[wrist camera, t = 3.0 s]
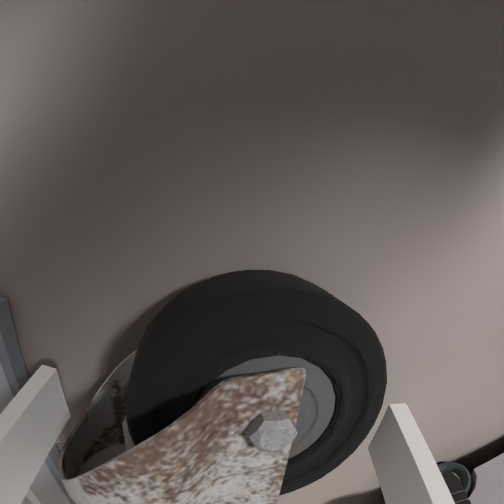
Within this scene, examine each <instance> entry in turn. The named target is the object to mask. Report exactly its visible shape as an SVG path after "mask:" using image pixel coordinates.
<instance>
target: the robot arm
mask: <svg viewBox="0 0 504 504" xmlns="http://www.w3.org/2000/svg"><path fill="white" fill-rule="evenodd" d="M70 417H71V415H70V412H69V409H68V406H67V403H66V399H65V396H64V393H63V390H62V386H61V383H60V379H59V376H58V372H57V369H55V368H52V367H49V366H46V365H41V366H40V368H39V369H38V370H37V371H36V372H35V373H34V374H33V376H32V377H31V378H30V379H29V380H28V381H27V383H26V384H25V385H24V386H23V387H22V389H21V390H20V391H19V392H18V393H17V395H16V396H15V397H14V398H13V399H12V401H11V402H10V403H9V404H8V406H7V407H6V408H5V409H4V411H3V412H2V413H1V414H0V504H21V503H22V501H23V499H24V497H25V495H26V493H27V492H28V490H29V488H30V486H31V484H32V482H33V481H34V479H35V477H36V475H37V473H38V472H39V470H40V468H41V466H42V464H43V463H44V461H45V459H46V457H47V456H48V454H49V452H50V450H51V449H52V447H53V445H54V444H55V442H56V440H57V438H58V437H59V435H60V433H61V432H62V430H63V428H64V427H65V425H66V423H67V422H68V420H69V418H70ZM368 450H369V453H370V456H371V459H372V462H373V465H374V468H375V471H376V474H377V477H378V481H379V484H380V487H381V490H382V493H383V496H384V500H385V503H386V504H471V502H470V500H468V496H467V494H466V492H464V488H463V486H462V484H461V482H460V480H459V478H458V477H457V476H456V475H454V474H453V473H452V472H451V471H446V472H443V473H441V472H440V470H439V468H438V466H437V464H436V462H435V460H434V458H433V456H432V454H431V452H430V450H429V448H428V446H427V444H426V442H425V440H424V438H423V436H422V434H421V432H420V430H419V428H418V426H417V424H416V422H415V420H414V418H413V416H412V414H411V412H410V411H409V409H408V407H407V405H406V403H401V404H389V406H388V408H387V410H386V413H385V415H384V417H383V419H382V421H381V423H380V425H379V427H378V429H377V431H376V433H375V435H374V437H373V439H372V441H371V443H370V445H369V447H368Z"/></svg>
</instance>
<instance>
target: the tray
mask: <svg viewBox="0 0 504 504" xmlns="http://www.w3.org/2000/svg"><path fill="white" fill-rule="evenodd" d="M28 380H29V377H28V374H27V371H26V368H25V364H24V361H23V358H22V354H21V351H20V347H19V344H18V340H17V336H16V332H15V328H14V324H13V320H12V316H11V311H10V307H9V302H8V298H6V297H2V296H0V414H1V413H2V412H3V411H4V409H5V408H6V407H7V406H8V404H9V403H10V402H11V401H12V399H13V398H14V397H15V396H16V395H17V393H18V392H19V391H20V390H21V389H22V387H23V386H24V385H25V384H26V383H27V381H28ZM59 460H60V453H59V451H58V449H57V446H56V444H54V445H53V447H52V449H51V450H50V452H49V454H48V456H47V457H46V459H45V461H44V463H43V464H42V466H41V468H40V470H39V472H38V473H37V475H36V477H35V479H34V481H33V482H32V484H31V486H30V488H29V490H28V492H27V493H26V495H25V497H24V499H23V501H22V503H21V504H70V498H69V495H68V493H67V491H66V489H65V486H64V484H63V482H62V479H61V477H60V473H59Z"/></svg>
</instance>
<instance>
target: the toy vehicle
mask: <svg viewBox="0 0 504 504" xmlns="http://www.w3.org/2000/svg"><path fill="white" fill-rule="evenodd" d="M437 466H438V468H439V470H440V472H441V473H443V472H446V471H451V472H452V473H453V474H454V475H456V476H457V477H458V478H459V480H460V482H461V484H462V486H463V488H464V492H466V494H467V496H468V500H470V502H471V504H504V453H502V454H500V455H499V456H497V457H495V458H493V459H492V460H490V461H488V462H486V463H484V464H482V465H480V466H478V467H476V468H474V470H473V472H472V474H471V476H470V473H469V471H468V470H467V469H466V468H465V466H463V465H461V464H459V463H457V462H443V463H440V464H437ZM385 504H386V503H385Z"/></svg>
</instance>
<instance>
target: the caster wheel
mask: <svg viewBox="0 0 504 504" xmlns="http://www.w3.org/2000/svg"><path fill="white" fill-rule="evenodd" d="M386 384H387V374H386V360H385V356H384V351H383V348H382V345H381V343H380V341H379V339H378V337H377V335H376V333H375V331H374V330H373V329H372V327H371V326H370V325H369V323H368V322H367V321H366V320H365V319H364V318H363V317H362V316H361V315H360V314H359V313H357V312H356V311H354V310H353V309H352V308H350V307H349V306H347V305H346V304H344V303H343V302H341V301H340V300H338V299H337V298H336V297H334V296H333V295H331V294H330V293H328V292H327V291H325V290H324V289H322V288H320V287H318V286H317V285H315V284H313V283H311V282H309V281H306V280H304V279H302V278H299V277H297V276H295V275H292V274H287V273H281V272H276V271H271V270H244V271H236V272H230V273H226V274H222V275H218V276H216V277H213V278H211V279H208V280H206V281H203V282H201V283H198V284H196V285H194V286H192V287H191V288H189V289H187V290H186V291H184V292H183V293H181V294H180V295H178V296H177V297H176V298H174V299H173V300H172V301H171V302H169V303H168V304H167V305H166V306H165V307H164V308H163V309H162V310H161V311H160V312H159V314H158V315H157V316H156V317H155V318H154V319H153V321H152V322H151V323H150V324H149V326H148V328H147V330H146V331H145V333H144V335H143V337H142V339H141V341H140V343H139V346H138V349H137V350H135V351H134V352H133V353H131V354H130V355H129V356H127V357H126V358H125V359H124V360H123V361H122V362H121V363H120V364H119V365H118V366H117V367H116V368H115V369H114V370H113V372H112V373H111V374H110V375H109V376H108V378H107V379H106V380H105V382H104V383H103V384H102V386H101V387H100V388H99V390H98V391H97V393H96V394H95V396H94V398H93V399H92V401H91V402H90V404H89V406H88V407H87V409H86V411H85V413H84V414H83V416H82V418H81V419H80V421H79V423H78V424H77V426H76V427H75V429H74V431H73V432H72V434H71V435H70V437H69V438H68V440H67V441H66V443H65V445H64V447H63V449H62V451H61V455H60V460H59V473H60V477H61V479H62V482H63V484H64V486H65V489H66V491H67V493H68V495H69V498H70V504H276V503H277V501H278V497H279V495H282V494H285V493H289V492H292V491H295V490H297V489H299V488H302V487H304V486H306V485H309V484H311V483H312V482H314V481H316V480H318V479H320V478H322V477H323V476H325V475H326V474H328V473H329V472H330V471H332V470H333V469H335V468H336V467H338V466H339V465H340V464H341V463H342V462H343V461H344V460H345V459H347V458H348V457H349V456H350V455H351V454H352V453H353V452H354V451H355V450H356V449H357V447H358V446H359V445H360V444H361V443H362V441H363V440H364V439H365V438H366V436H367V435H368V433H369V431H370V430H371V428H372V427H373V425H374V423H375V421H376V419H377V416H378V414H379V412H380V410H381V407H382V404H383V399H384V394H385V389H386Z"/></svg>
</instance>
